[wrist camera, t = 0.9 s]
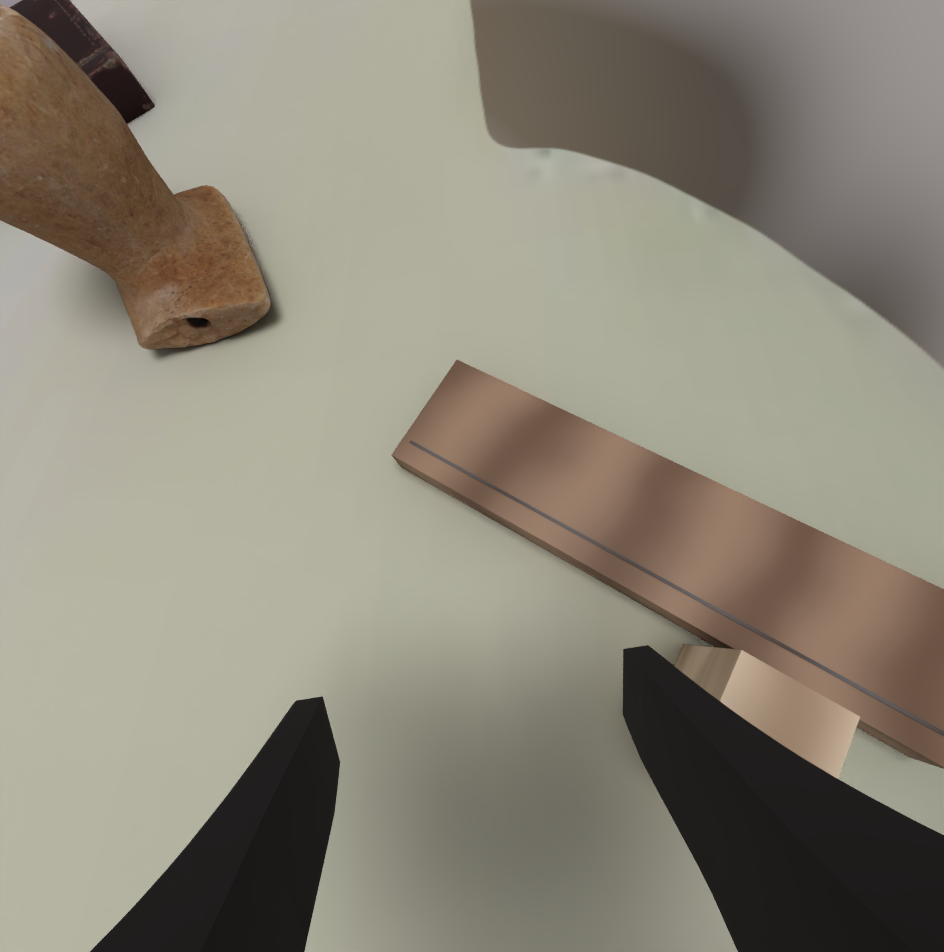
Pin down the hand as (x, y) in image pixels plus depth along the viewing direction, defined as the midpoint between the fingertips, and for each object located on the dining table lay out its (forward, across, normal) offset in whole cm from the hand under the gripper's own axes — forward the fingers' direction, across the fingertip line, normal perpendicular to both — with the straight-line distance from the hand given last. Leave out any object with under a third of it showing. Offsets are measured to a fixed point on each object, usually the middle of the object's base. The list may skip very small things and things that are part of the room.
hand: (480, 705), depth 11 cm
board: (+13, -10, +3) cm, 17 cm away
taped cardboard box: (+7, -10, +10) cm, 16 cm away
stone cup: (+31, +18, -13) cm, 38 cm away
